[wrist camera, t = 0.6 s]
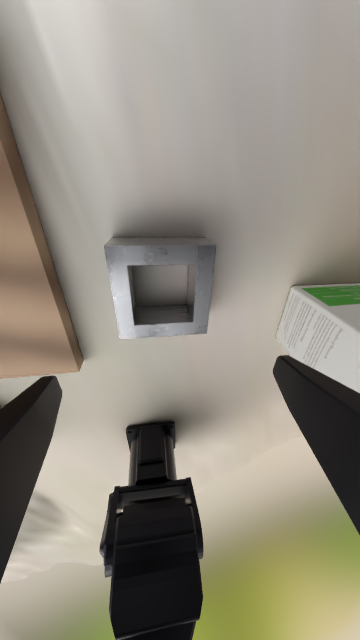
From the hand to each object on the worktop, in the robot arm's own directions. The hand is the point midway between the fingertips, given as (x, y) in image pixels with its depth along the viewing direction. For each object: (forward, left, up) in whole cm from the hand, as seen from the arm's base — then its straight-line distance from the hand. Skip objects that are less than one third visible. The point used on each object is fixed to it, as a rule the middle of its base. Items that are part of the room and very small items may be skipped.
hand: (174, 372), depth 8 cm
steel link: (0, 0, -10) cm, 10 cm away
